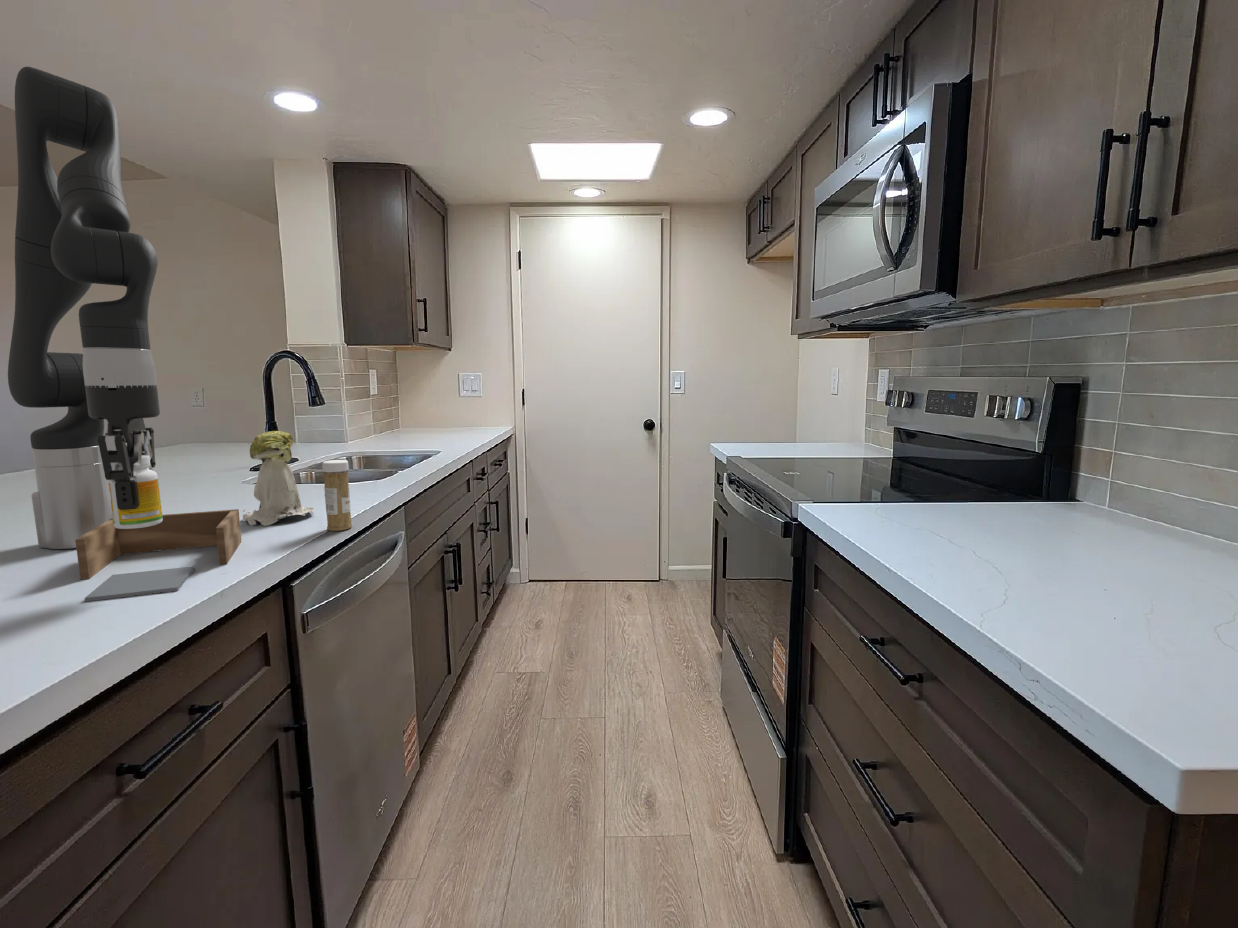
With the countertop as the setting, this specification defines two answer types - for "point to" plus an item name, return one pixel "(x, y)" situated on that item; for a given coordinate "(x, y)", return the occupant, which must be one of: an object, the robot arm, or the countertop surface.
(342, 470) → the sprinkles bottle
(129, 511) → the supplement bottle
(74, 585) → the countertop surface
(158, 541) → the open box
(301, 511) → the yellow capped ghost figurine
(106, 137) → the robot arm
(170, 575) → the grey mat
